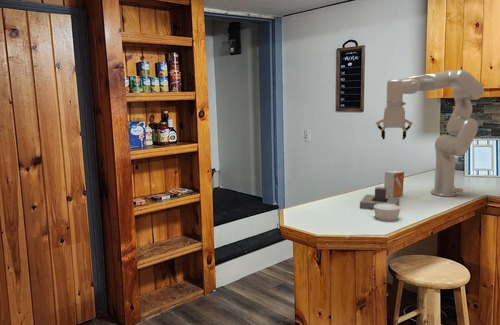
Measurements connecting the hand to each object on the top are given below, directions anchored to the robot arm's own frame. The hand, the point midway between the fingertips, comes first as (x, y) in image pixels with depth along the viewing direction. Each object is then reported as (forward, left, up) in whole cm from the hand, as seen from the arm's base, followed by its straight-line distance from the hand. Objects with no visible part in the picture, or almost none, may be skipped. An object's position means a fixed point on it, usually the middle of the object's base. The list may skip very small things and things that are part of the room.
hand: (393, 139), depth 219 cm
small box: (0, -9, -32) cm, 33 cm away
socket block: (+3, +15, -31) cm, 35 cm away
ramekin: (-3, +34, -32) cm, 46 cm away
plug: (+3, +14, -31) cm, 34 cm away
